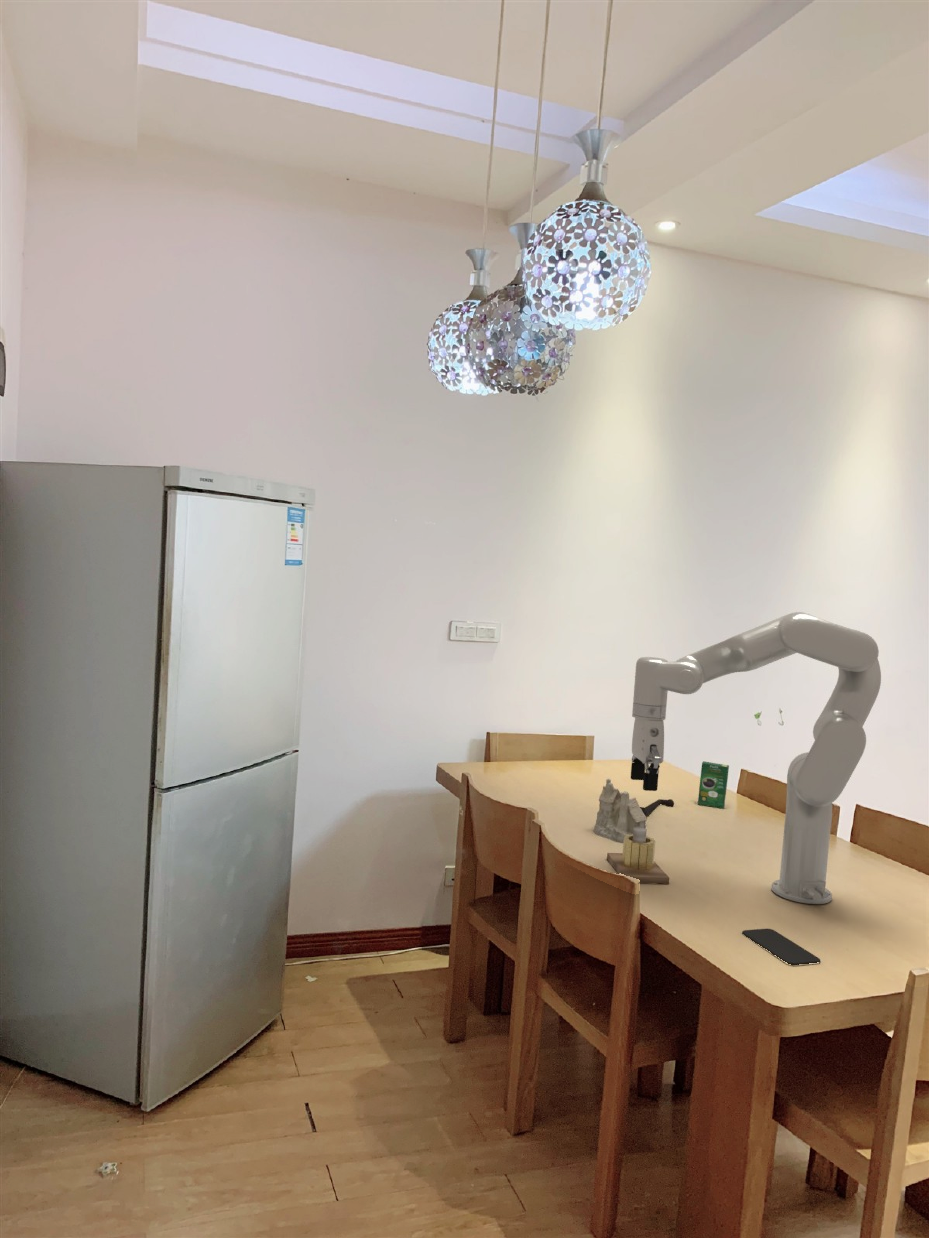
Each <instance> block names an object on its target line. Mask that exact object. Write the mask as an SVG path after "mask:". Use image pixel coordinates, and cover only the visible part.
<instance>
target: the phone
mask: <svg viewBox="0 0 929 1238" xmlns="http://www.w3.org/2000/svg"><path fill="white" fill-rule="evenodd" d="M741 934H742V935H743V934H744V935H745V936H746V937H745V936H744V935H743V936H744V937H745V938H747V937H748V938H750V939H751V940H752V942H753V941H754V942H755V944H756V943H757V944H759V945H760V946H762V947H763V948H765V949H767V950H768V951H770V952H771V953H772V954H773V955H776V956H777V957H779V958H780V959H782V960H783V961H785V962H787V963H788V964H791V965H799V964H809V963H817V962H820V963H821V959H820V957H817V956H816V955H815V954H813V953H811V952H810V951H808V950H807V949H805V948H803V946H800V945H798V944H797V943H795V942H794V941H793V940H790V939H789V938H787V937H786V936H784V935H783V934H781V933H779V932H778V931H776V930H775V929H773V928H757V929H745V930H744V929H743V930H742V931H741ZM748 938H747V939H748ZM750 939H749V940H750ZM751 940H750V941H751ZM754 942H753V943H754ZM757 944H756V945H757ZM759 945H758V946H759ZM760 946H759V947H760ZM762 947H761V948H762ZM763 948H762V949H763ZM772 954H771V955H772ZM773 955H772V956H773Z"/></svg>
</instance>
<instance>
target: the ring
mask: <svg viewBox="0 0 929 1238" xmlns="http://www.w3.org/2000/svg"><path fill="white" fill-rule="evenodd" d="M655 848H656V840H655V839H654V838H653V837H650V836H648V835H647V836H646V843H639V842H634V841H633V835H626V836H625V837H624V841H623V843H622V853H623V854H622V864H623V865H624V866H626V867H628V868H631V869H636V870H649V869H652V868H653V866H654V861H655V852H656V851H655V850H656V849H655Z"/></svg>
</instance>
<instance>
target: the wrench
mask: <svg viewBox="0 0 929 1238" xmlns="http://www.w3.org/2000/svg"><path fill="white" fill-rule="evenodd" d="M660 804H662V805H660ZM666 805H667V807H669V808H673V807H674V805H675V802H674V800H673V799H662V798H661V799H659V798H658V799H657V800H655V801H653V802H652V803H650V804H648V805H646V806H644V807H643V806H639V807H640V808H641V810H642V812H643V813H644V815H645V816H646V818H647V817H648V816H649V815H650V814H651V813H652V812H653V811H654V810H655V809H657V808H658V807H659V806H666ZM646 821H647V820H646ZM646 821H645V823H646Z"/></svg>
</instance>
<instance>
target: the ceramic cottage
mask: <svg viewBox="0 0 929 1238" xmlns="http://www.w3.org/2000/svg"><path fill="white" fill-rule="evenodd" d="M611 780H612V779H611V778H607V779H606V781H605V785H603V787H602V790H601V793H600V795H599V798H598V801H599V805H598V809H599V810H598V811H597V813H596V822H595V824H594V826H593V830H592V831H593V833H595V834H596V835H597V836H599V837H602V838H605V839H609V840H610V841H614V842H618V843H621V844H623V841H624V837H625V836H626V835H633V828H634V827H643V828H646V829H647V825H646V822H645V821H647V817H646V816H645V815H644V813H643V812H642V810H641V808H640V807H641V806H640V804H639V802H638V800H637V798H636V797H633V798H630V793H629V792H628V791H622V792H620V790H619V788H615V787H614V784H613V783H611V782H612V781H611ZM646 836H648V835H647V834H646Z"/></svg>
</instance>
